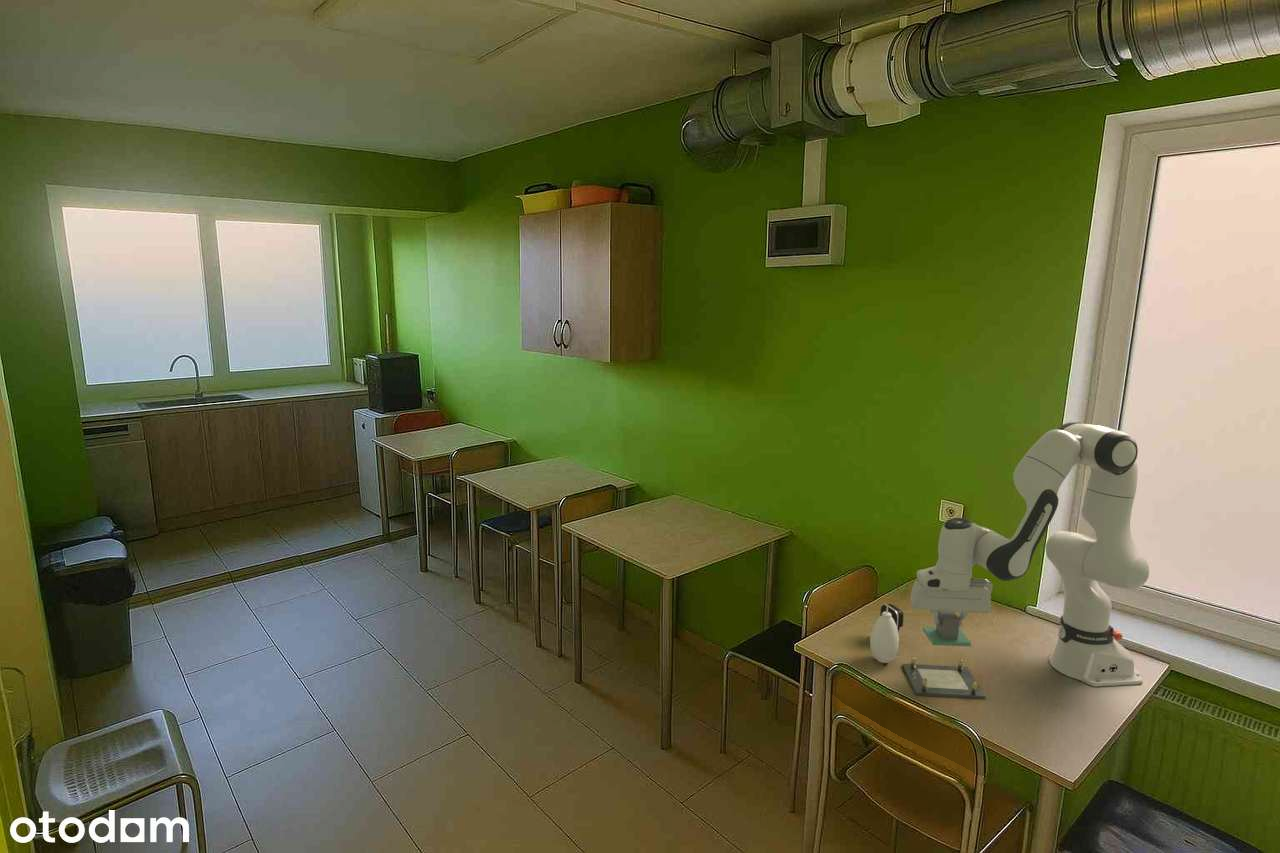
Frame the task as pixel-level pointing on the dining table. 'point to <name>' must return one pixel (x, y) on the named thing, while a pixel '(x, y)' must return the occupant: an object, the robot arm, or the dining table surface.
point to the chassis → (942, 680)
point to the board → (945, 642)
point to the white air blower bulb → (884, 638)
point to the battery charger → (894, 614)
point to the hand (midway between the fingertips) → (947, 624)
